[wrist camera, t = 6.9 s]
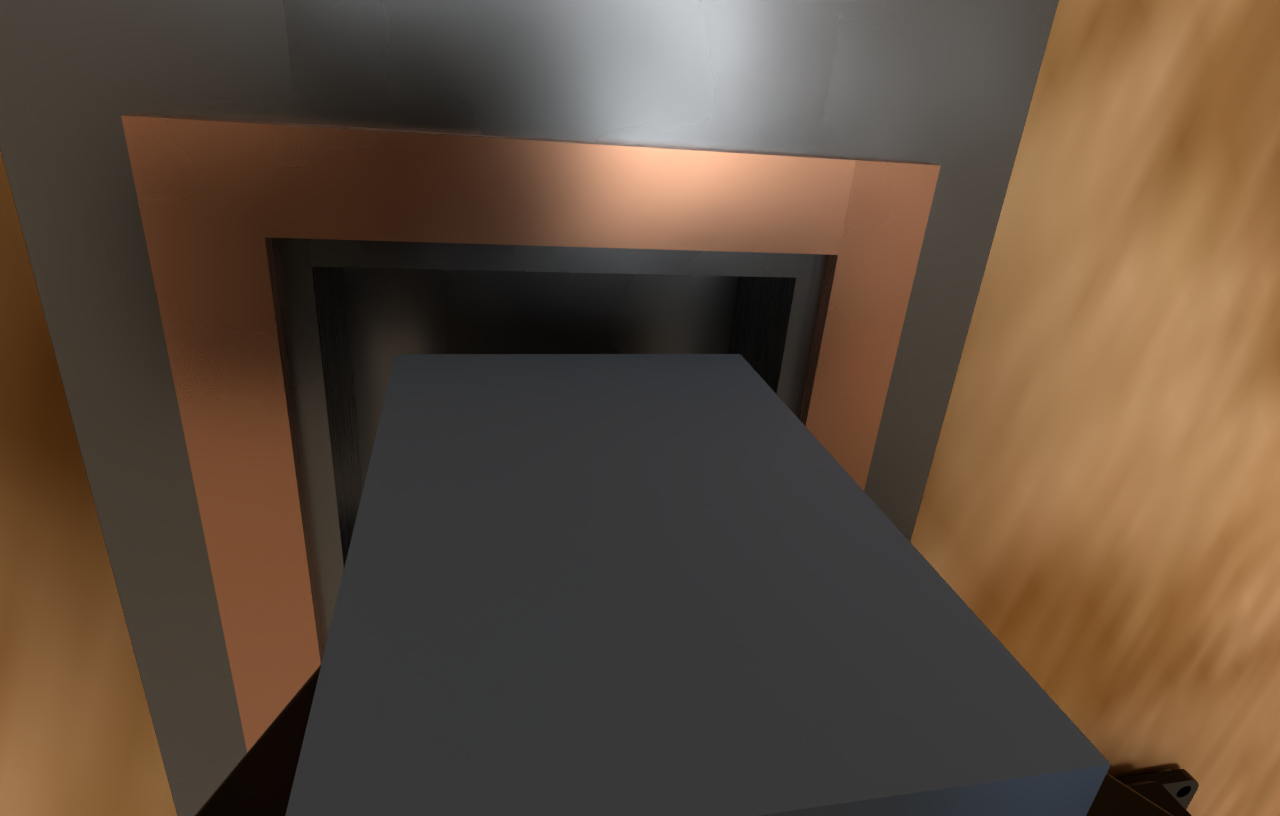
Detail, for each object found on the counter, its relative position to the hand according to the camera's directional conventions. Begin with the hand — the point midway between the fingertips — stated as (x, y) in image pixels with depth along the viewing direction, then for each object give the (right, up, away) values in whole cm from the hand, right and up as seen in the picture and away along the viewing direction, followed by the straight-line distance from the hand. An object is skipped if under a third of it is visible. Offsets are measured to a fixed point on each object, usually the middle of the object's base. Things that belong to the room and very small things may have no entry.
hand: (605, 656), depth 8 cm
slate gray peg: (-1, +1, +3) cm, 3 cm away
